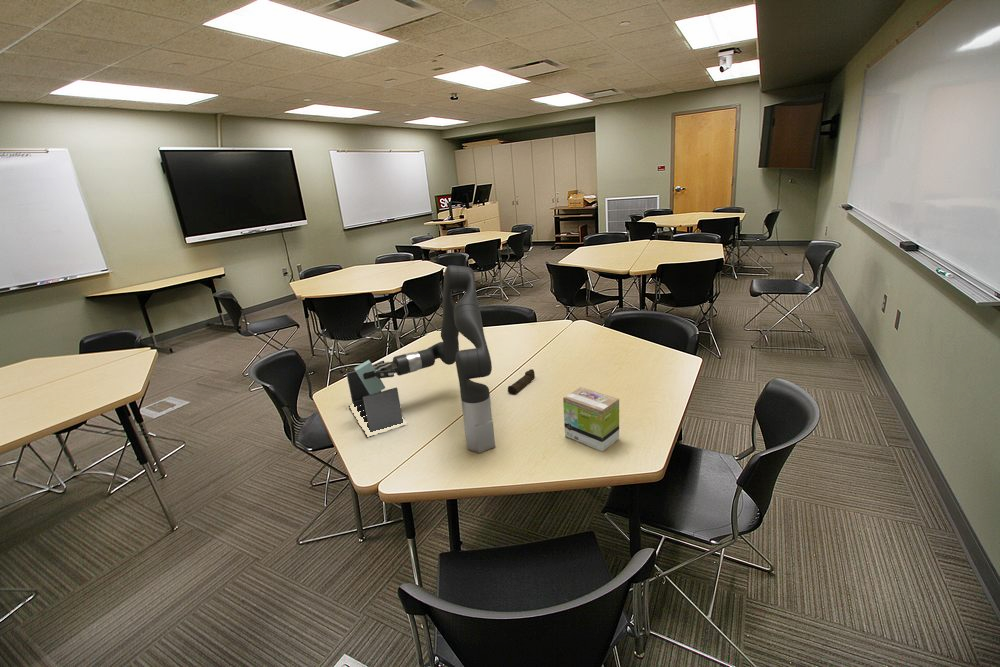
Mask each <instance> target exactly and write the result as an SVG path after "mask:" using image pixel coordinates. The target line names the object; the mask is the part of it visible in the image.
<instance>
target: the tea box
mask: <svg viewBox="0 0 1000 667" xmlns="http://www.w3.org/2000/svg"><path fill="white" fill-rule="evenodd" d="M562 399H563V419H564V420H563V422H564V436H565V437H567V438H569V439H570V440H571V439H572V440H574V441H577V442H578V443H581V444H583V445H586V446H588V447H590V448H593V449H595V450H597V451H599V452H604V451H606V450H607V449H608V448H609V447H611V446H612V445H613V444H614V443H615V442H617V441H618V440H619V439H620V398H616V397H613V396H611V395H607V394H604V393H601V392H597V391H595V390H591V389H588V388H586V387H581V386H580V387H578V388H577V389H576V390H574V391H572V392H570V393H569V394H567V395H566V396H564V397H563V398H562Z"/></svg>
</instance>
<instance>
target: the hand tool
mask: <svg viewBox="0 0 1000 667" xmlns="http://www.w3.org/2000/svg"><path fill="white" fill-rule="evenodd" d="M535 375H536V373H535V370H534V369H531V368H530V369H528V371H527V370H526V372H524V375H523V376H522V377H521V378H519V379H518V380H516V381H515V382H514V383H513V384H511V385H508V386H507V392H508V393H509V395H516V394H518V392H519V391H520V390H521V389H523V388H524V387H525V386H526V385H527V384H529V383H532V382H533V381H532V380H534V379H535ZM531 381H532V382H531Z"/></svg>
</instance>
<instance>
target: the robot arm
mask: <svg viewBox="0 0 1000 667" xmlns="http://www.w3.org/2000/svg"><path fill="white" fill-rule="evenodd" d="M442 290H443V291H442V292H443V295H442V322H441V330H440V338H441V340H442V341H439V342H437V343H435V344H433V345H431V346H430V347H428V348H426V349H423V350H418V351H412V352H407V353H403V354H400V355H394V356H393V358H392V361H385V360H381V361H378V362H377V363H374V364H372V365H373V367H374V369H375V371H374V372H373V371H371V372H368V373H364V374H363V376H364V379H369V378H373V377H378V379H388V378H393V377H395V374H396V375H397V376H399V377H400V376H403V375H407V374H410V373H414V372H417V371H420V370H423V369H425V368H429V367H433V366H434V365H435V363H436V360H437V359H440V360H441V361H442V363H443V364H445V365H448V366H449V365H453V364H455V366H456V367H455V368H456V372H457V377H458V384H459V390H460V391H459V392H460V401H461V409H462V410H461V411H462V418H463V427H464V434H465V441H466V448H467V449H468V450H470V451H471V452H476V453H478V454H481V453H484V452H486V451H488V450H491V449H493V448H495V447H496V440H495V438H496V437H495V431H494V429H495V428H494V421H493V415H492V414H493V413H492V404H491V402H492V401H491V394H490V388H489V387H488V385H486V384H485V383H481V382H477V381H473V380H474V379H478V378H479V379H480V378H486V377H488V376H490V375H491V373H492V370H493V369H492V368H493V366H492V365H493V364H492V359H491V355H490V350H489V348H488V345H487V340H486V337H485V332H484V325H483V320H482V319H483V318H482V315H481V309H480V305H479V300H478V294H477V286H476V276H475V272H474V270H473V268H471V267H469V266H463V265H462V266H461V265H452V264H451V265H447V266H446V268H445V271H444V276H443V289H442ZM453 291H458V292H464V294H463V296H462V297H461V298H460V299H459V300H458V301H457V303H456V304H454V301H453V296H452V292H453ZM459 334H461V335H462V336H463V337H464V338H466V339H467V340H468V341H469V342H470V343H472V344H473V346H474V347H475V348H468V349H463V350H462V349H460V344H459ZM472 379H473V380H472Z"/></svg>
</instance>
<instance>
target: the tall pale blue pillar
mask: <svg viewBox="0 0 1000 667" xmlns="http://www.w3.org/2000/svg"><path fill="white" fill-rule="evenodd" d="M373 365H374V364H373V363H372V362H371V361H370V359H368V360H366V361H364V362H362V363H361V364H359V365H357V366H355V367H353V369H354V371H356V372H357V374H358V376H359V377H360V379H361V381H362V382H363V384H364V386H365V387H366V389H367V391H368V392H369V394H370V395H371V394H375V393H378V392H380V391H381V392H382V391H384V390H386V386H385V384H384V383H383V381H382V378H380V379H378V377H373V378H369V379H364V376H363V374H364V373H368V372H371V371H373V372H374V371H375V369H374V367H373Z"/></svg>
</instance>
